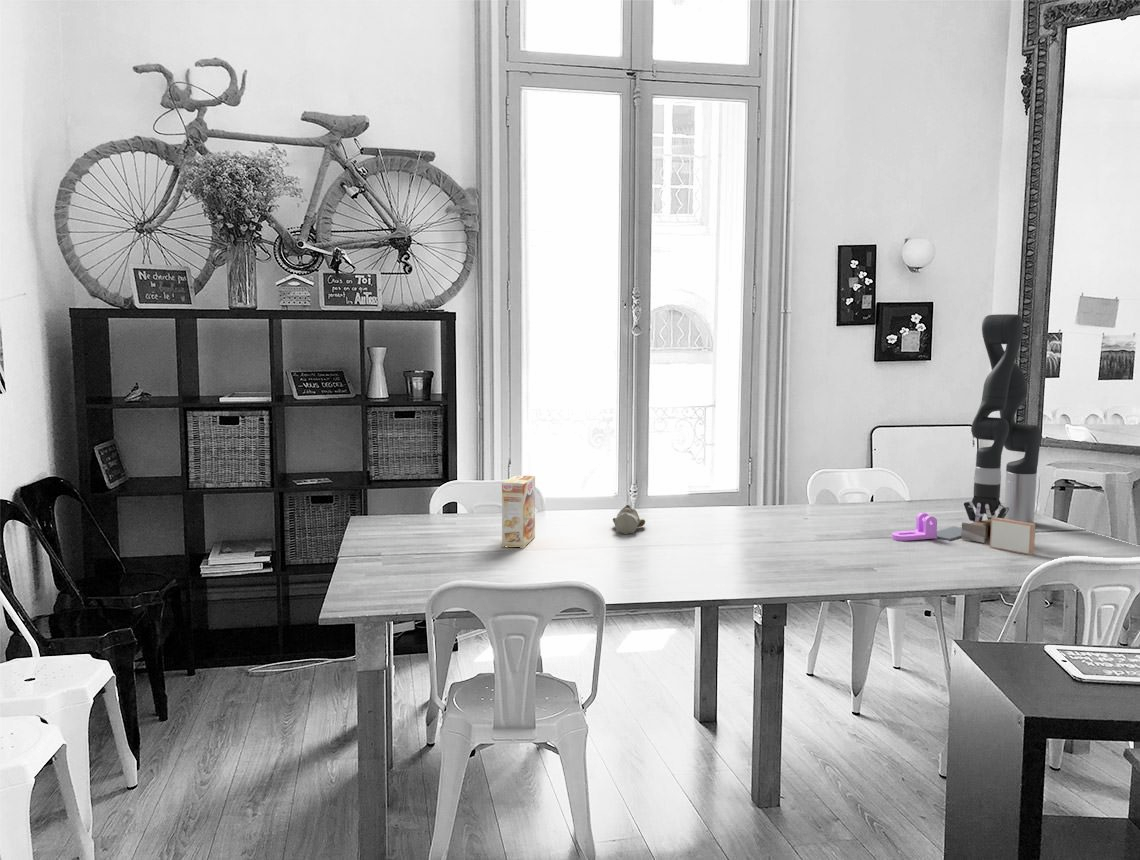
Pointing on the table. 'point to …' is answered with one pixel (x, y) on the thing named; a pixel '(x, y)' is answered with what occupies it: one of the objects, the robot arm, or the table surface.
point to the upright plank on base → (975, 531)
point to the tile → (1012, 535)
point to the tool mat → (949, 533)
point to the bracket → (919, 529)
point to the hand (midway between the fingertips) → (984, 535)
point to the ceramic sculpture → (627, 520)
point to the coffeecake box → (518, 511)
